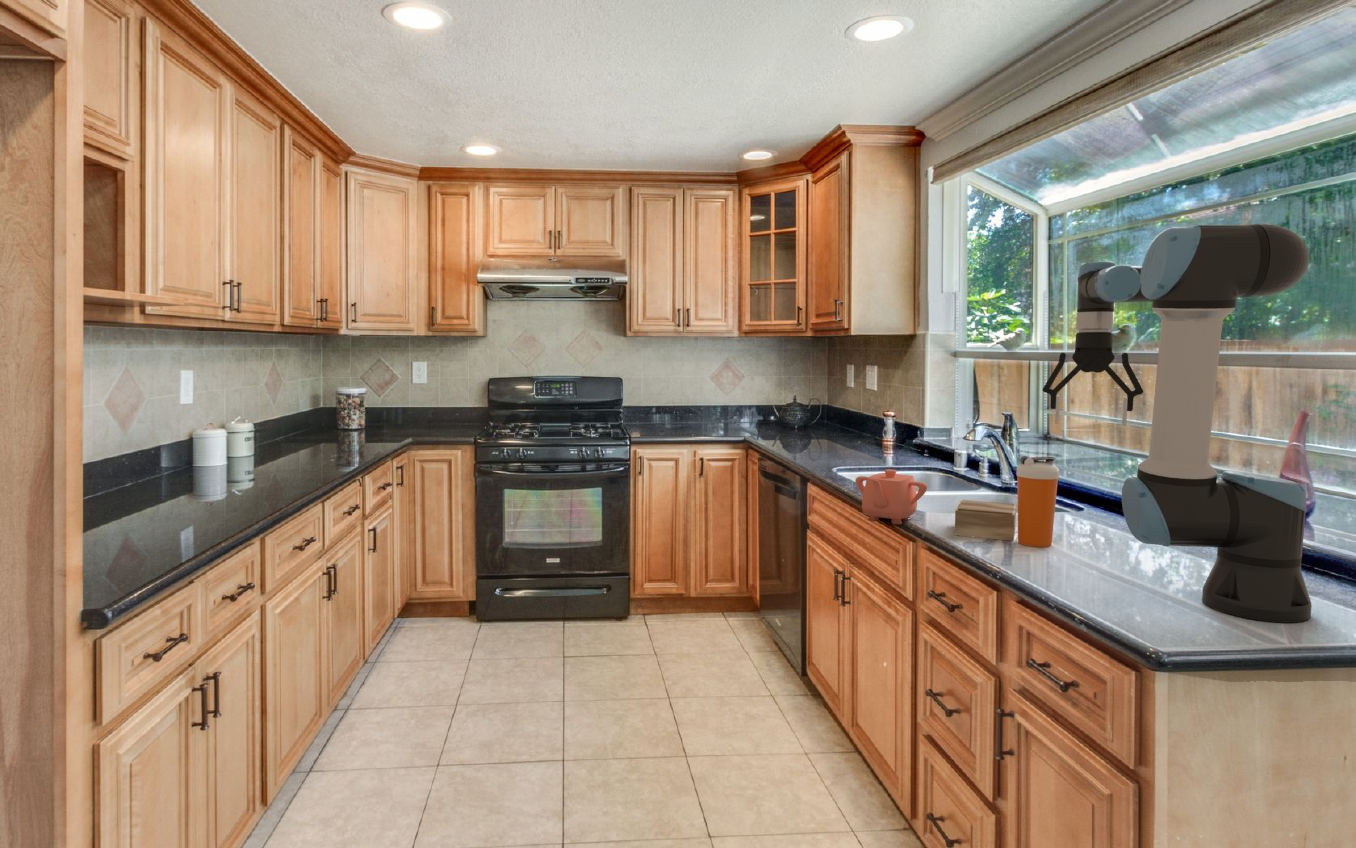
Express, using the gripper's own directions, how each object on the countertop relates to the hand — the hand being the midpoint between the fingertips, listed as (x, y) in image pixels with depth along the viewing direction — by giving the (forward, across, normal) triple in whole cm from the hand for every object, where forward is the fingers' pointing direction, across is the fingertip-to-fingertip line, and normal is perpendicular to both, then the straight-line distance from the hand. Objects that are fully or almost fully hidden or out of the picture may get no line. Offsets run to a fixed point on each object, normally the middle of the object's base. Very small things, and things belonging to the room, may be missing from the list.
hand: (1089, 424), depth 179 cm
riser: (+27, +21, +2) cm, 35 cm away
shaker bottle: (+27, +10, +8) cm, 30 cm away
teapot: (+27, +46, -2) cm, 53 cm away
